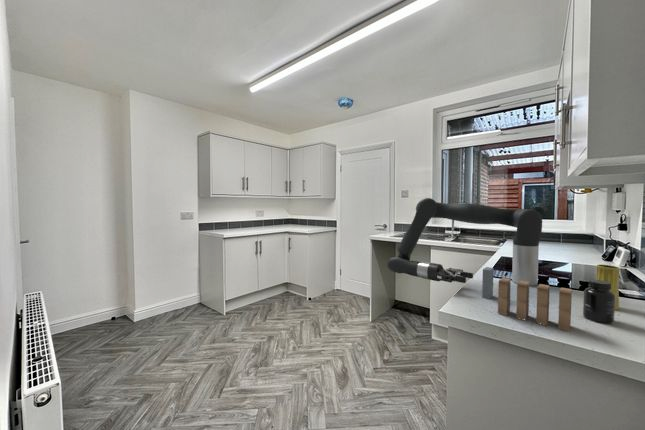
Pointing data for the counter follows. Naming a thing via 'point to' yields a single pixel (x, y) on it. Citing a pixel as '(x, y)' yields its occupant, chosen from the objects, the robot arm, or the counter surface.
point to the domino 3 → (522, 300)
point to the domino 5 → (565, 308)
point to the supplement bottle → (599, 302)
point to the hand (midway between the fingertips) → (469, 278)
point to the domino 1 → (487, 283)
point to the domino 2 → (504, 296)
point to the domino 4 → (542, 304)
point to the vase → (610, 279)
